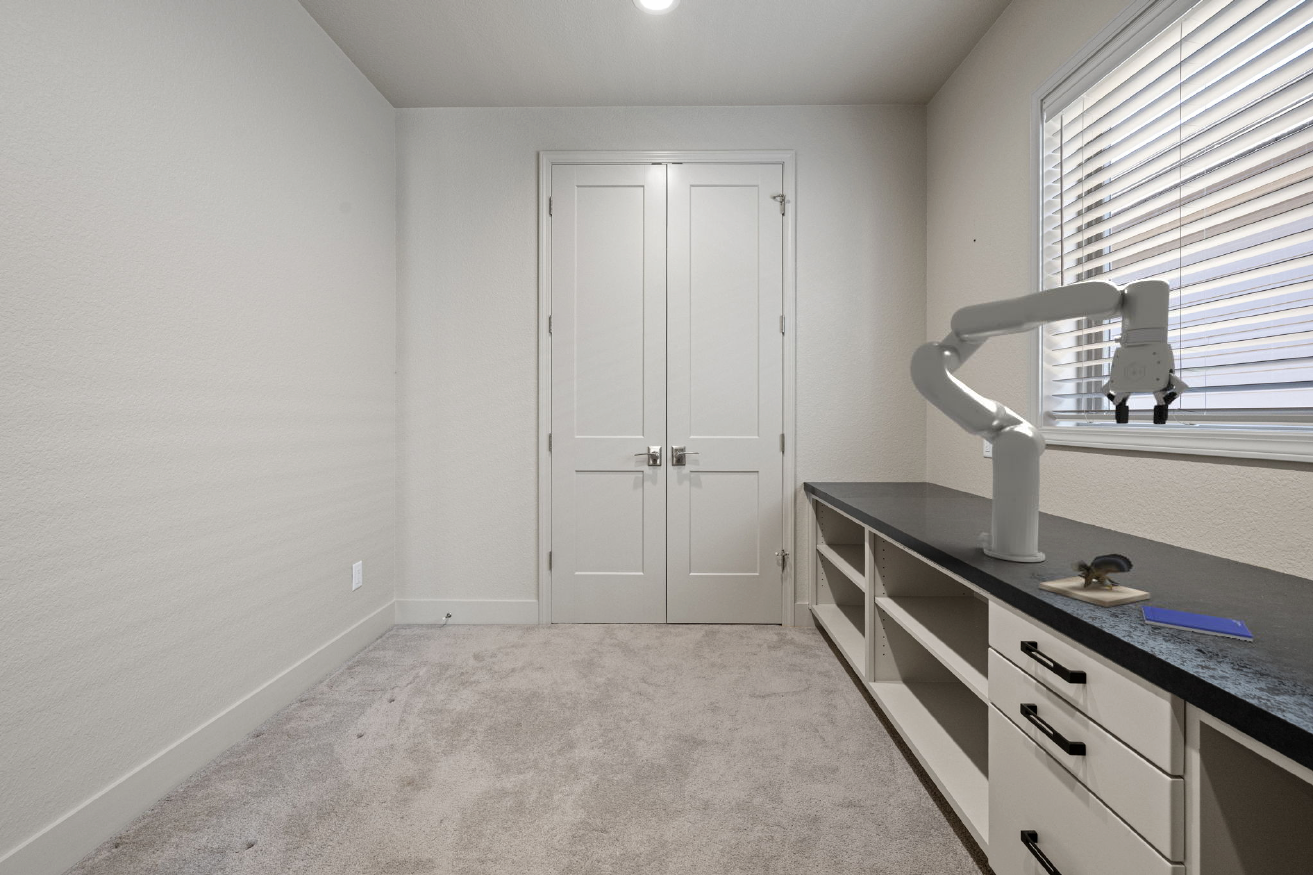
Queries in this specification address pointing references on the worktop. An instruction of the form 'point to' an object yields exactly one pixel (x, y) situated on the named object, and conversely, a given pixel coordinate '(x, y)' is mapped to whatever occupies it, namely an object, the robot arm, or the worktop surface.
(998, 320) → the robot arm
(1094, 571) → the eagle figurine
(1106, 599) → the ash board
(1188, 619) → the hard drive
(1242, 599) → the worktop surface
